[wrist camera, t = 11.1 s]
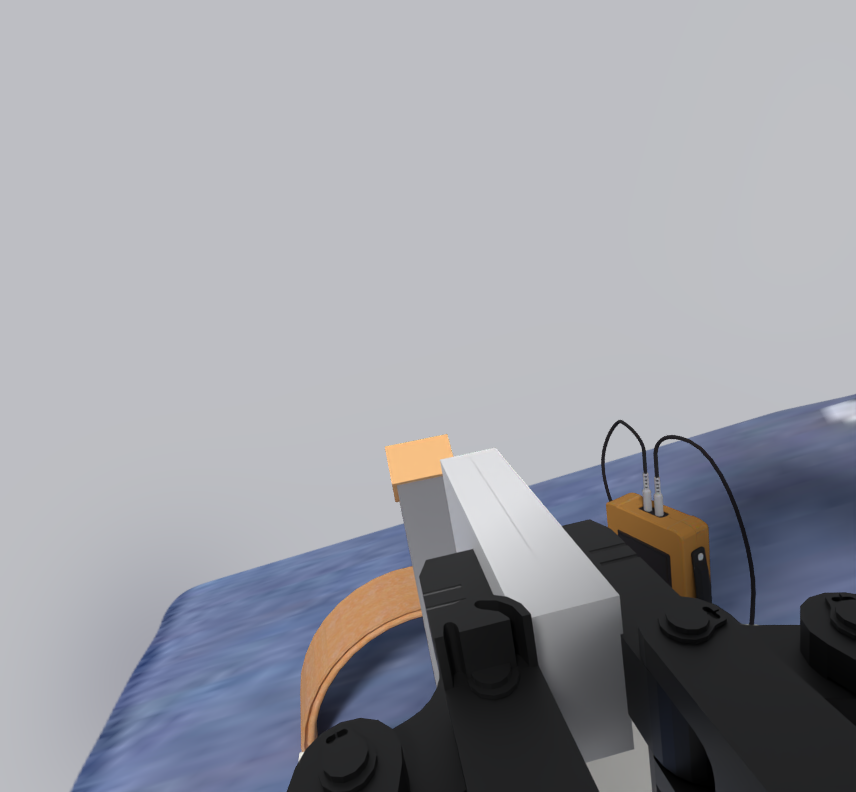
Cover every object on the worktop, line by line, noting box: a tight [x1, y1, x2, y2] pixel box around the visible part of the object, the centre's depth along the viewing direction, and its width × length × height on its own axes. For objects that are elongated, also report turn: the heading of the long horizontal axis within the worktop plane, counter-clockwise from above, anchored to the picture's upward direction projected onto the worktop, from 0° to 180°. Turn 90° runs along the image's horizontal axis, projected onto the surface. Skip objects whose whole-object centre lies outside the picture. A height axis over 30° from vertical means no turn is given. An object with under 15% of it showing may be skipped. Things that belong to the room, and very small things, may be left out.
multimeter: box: [601, 420, 756, 625], centre depth 41 cm, size 15×10×20 cm
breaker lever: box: [385, 434, 457, 687], centre depth 33 cm, size 5×3×20 cm
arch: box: [300, 566, 422, 752], centre depth 41 cm, size 6×20×10 cm, turn 104°
